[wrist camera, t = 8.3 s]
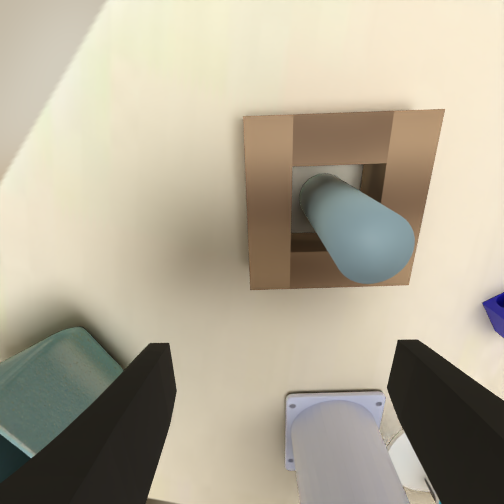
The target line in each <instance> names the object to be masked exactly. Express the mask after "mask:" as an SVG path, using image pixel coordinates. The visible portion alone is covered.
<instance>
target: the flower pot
mask: <svg viewBox="0 0 504 504" xmlns="http://www.w3.org/2000/svg"><path fill="white" fill-rule="evenodd" d="M123 371H124V370H123V369H122V367H121V366H120V365H119V364H118V363H117V362H116V361H115V360H114V359H113V358H112V357H111V356H110V355H109V354H108V353H107V352H106V351H105V350H104V349H103V348H102V347H101V345H100V344H99V343H98V342H97V341H96V340H95V339H94V338H93V337H92V336H91V335H90V334H89V333H88V332H87V331H86V330H85V329H84V328H82V327H74V328H69V329H65V330H62V331H60V332H58V333H55V334H53V335H51V336H49V337H48V338H46V339H44V340H42V341H40V342H39V343H37V344H35V345H33V346H31V347H29V348H28V349H26V350H24V351H22V352H20V353H18V354H16V355H14V356H13V357H11V358H9V359H7V360H5V361H3V362H1V363H0V483H1V482H3V481H4V480H5V479H6V478H8V477H9V476H10V475H12V474H13V473H14V472H15V471H17V470H18V469H19V468H20V467H21V466H23V465H24V464H25V463H26V462H27V461H29V460H30V459H31V458H32V457H33V456H35V455H36V454H37V453H38V452H39V451H41V450H42V449H43V448H44V447H45V446H46V445H48V444H49V443H50V442H51V441H52V440H53V439H54V438H55V437H57V436H58V435H59V434H60V433H61V432H62V431H63V430H64V429H65V428H66V427H67V426H69V425H70V424H71V423H72V422H73V421H74V420H75V419H76V418H77V417H78V416H79V415H80V414H81V413H82V412H83V411H84V410H85V409H87V408H88V407H89V406H90V405H91V404H92V403H93V402H94V401H95V400H96V399H97V398H98V397H99V396H100V395H101V394H102V393H103V392H104V391H105V390H106V389H107V388H108V387H109V386H110V385H111V383H112V382H113V381H114V380H115V379H116V378H117V377H118V376H119V375H120V374H121V373H122V372H123Z"/></svg>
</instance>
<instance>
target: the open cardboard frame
mask: <svg viewBox="0 0 504 504" xmlns="http://www.w3.org/2000/svg"><path fill="white" fill-rule="evenodd" d="M444 112H445V109H433V110H406V111H378V112H351V113H323V114H296V115H268V116H243V125H244V150H245V174H246V199H247V223H248V247H249V272H250V290H267V289H299V288H331V287H363V286H396V285H409V281H410V276H411V271H412V266H413V262H414V257H415V252H416V247H417V242H418V237H419V233H420V228H421V223H422V218H423V213H424V208H425V204H426V199H427V194H428V189H429V184H430V179H431V175H432V170H433V165H434V160H435V155H436V150H437V146H438V141H439V136H440V131H441V126H442V121H443V117H444ZM350 164H363V173H362V182H361V192H362V193H364V194H366V195H367V196H369V197H371V198H372V199H374V200H376V201H377V202H379V203H381V204H382V205H384V206H385V207H387V208H389V209H390V210H392V211H394V212H395V213H397V214H399V215H400V216H402V217H403V218H404V219H406V220H407V221H408V223H409V224H410V226H411V227H412V230H413V232H414V237H415V245H414V250H413V253H412V256H411V258H410V260H409V261H408V263H407V264H406V266H405V267H404V268H403V269H402V270H401V271H400V272H399V273H397V274H396V275H395V276H393V277H391V278H389V279H387V280H385V281H382V282H379V283H374V284H362V283H357V282H354V281H352V280H350V279H348V278H347V277H345V276H344V275H343V274H342V273H341V272H340V270H339V269H338V267H337V265H336V264H335V262H334V261H333V259H332V257H331V256H330V254H329V252H328V251H327V249H326V248H325V246H324V244H323V243H322V241H321V239H320V238H319V236H318V235H317V233H291V204H292V166H321V165H350Z"/></svg>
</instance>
